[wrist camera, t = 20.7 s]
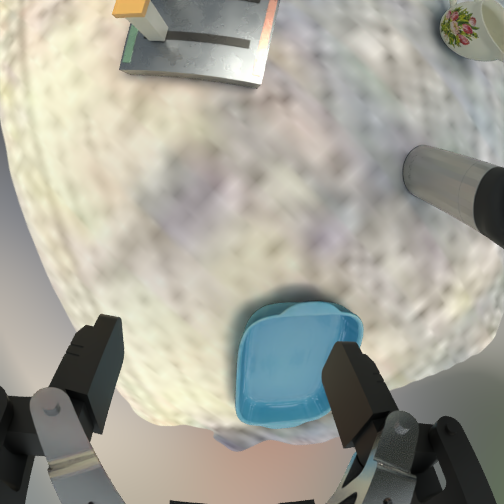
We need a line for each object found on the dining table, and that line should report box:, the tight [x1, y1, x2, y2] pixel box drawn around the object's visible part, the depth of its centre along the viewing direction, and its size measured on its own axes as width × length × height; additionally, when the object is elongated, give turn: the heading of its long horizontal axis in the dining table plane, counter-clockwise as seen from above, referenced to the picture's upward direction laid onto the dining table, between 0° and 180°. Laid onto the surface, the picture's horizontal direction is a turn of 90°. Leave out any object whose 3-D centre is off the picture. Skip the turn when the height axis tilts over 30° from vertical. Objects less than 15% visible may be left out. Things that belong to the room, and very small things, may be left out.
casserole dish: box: [235, 301, 363, 429], centre depth 54 cm, size 37×22×7 cm, turn 177°
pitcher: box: [439, 0, 504, 62], centre depth 25 cm, size 11×18×14 cm, turn 14°
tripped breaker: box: [112, 0, 168, 41], centre depth 22 cm, size 3×3×12 cm
